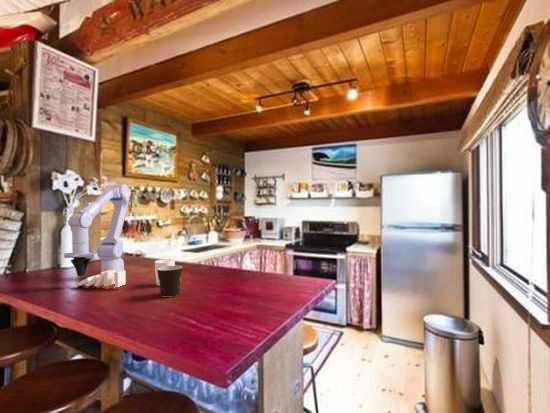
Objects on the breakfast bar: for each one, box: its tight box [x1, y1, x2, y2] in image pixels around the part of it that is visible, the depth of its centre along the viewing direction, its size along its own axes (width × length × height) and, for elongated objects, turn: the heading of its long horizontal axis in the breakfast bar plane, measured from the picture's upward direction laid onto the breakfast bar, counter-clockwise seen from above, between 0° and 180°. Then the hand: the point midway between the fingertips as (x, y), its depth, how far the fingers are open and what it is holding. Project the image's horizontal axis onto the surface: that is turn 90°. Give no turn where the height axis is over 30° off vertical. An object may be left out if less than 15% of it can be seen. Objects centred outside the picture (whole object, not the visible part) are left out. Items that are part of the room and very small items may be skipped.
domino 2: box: [85, 274, 100, 286], centre depth 125 cm, size 4×2×7 cm
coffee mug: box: [157, 265, 183, 297], centre depth 113 cm, size 12×9×10 cm
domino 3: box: [94, 270, 110, 286], centre depth 124 cm, size 4×2×7 cm
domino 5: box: [114, 269, 127, 288], centre depth 122 cm, size 4×2×7 cm, turn 168°
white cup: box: [154, 258, 176, 286], centre depth 127 cm, size 8×8×10 cm
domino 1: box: [74, 275, 96, 285], centre depth 125 cm, size 4×2×7 cm
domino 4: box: [104, 270, 116, 286], centre depth 123 cm, size 4×2×7 cm, turn 168°
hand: (81, 275), depth 126 cm, fingers closed
